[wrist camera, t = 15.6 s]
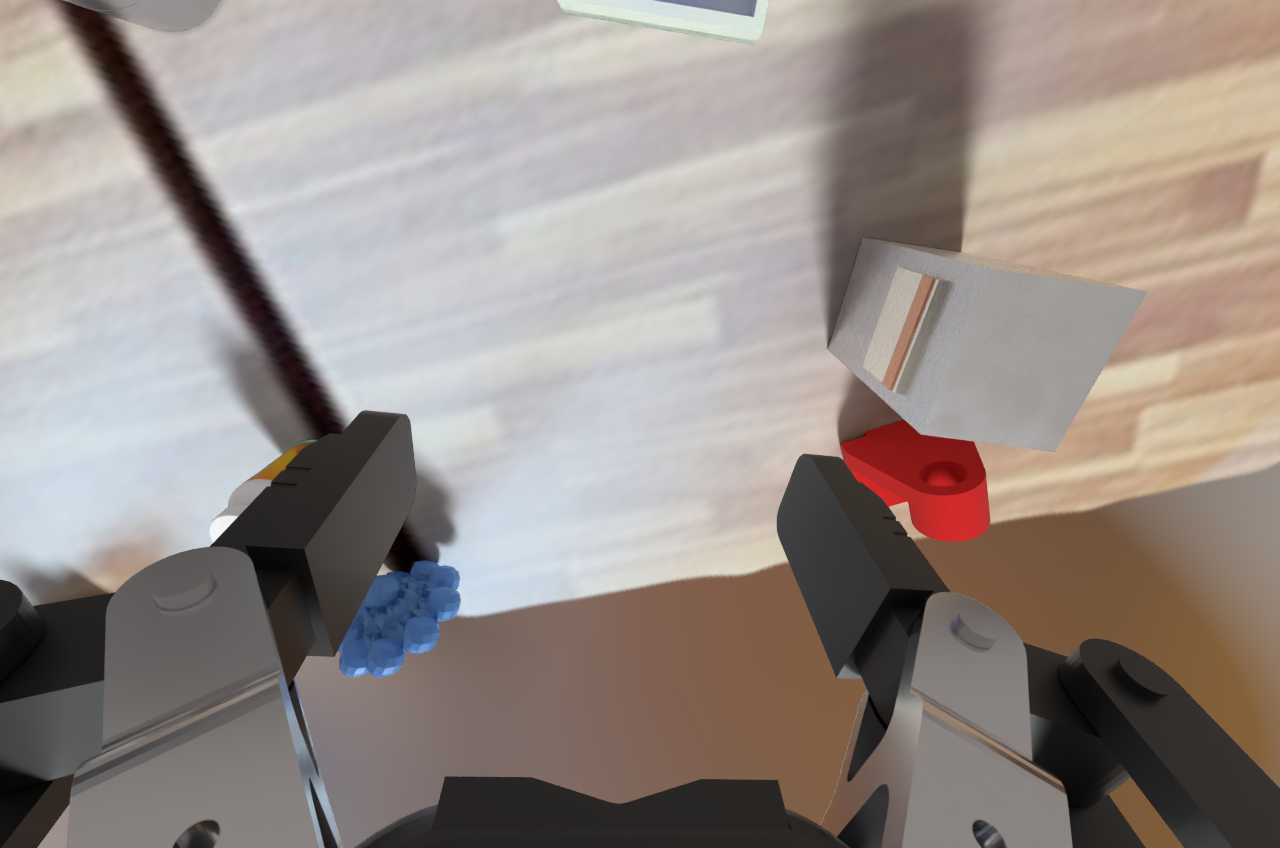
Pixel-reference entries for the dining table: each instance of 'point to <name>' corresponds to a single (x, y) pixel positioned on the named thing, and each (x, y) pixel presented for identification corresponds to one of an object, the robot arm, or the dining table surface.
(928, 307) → the dispenser
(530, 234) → the dining table surface
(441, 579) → the grapes
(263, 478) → the supplement bottle
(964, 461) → the bracket
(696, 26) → the tray
